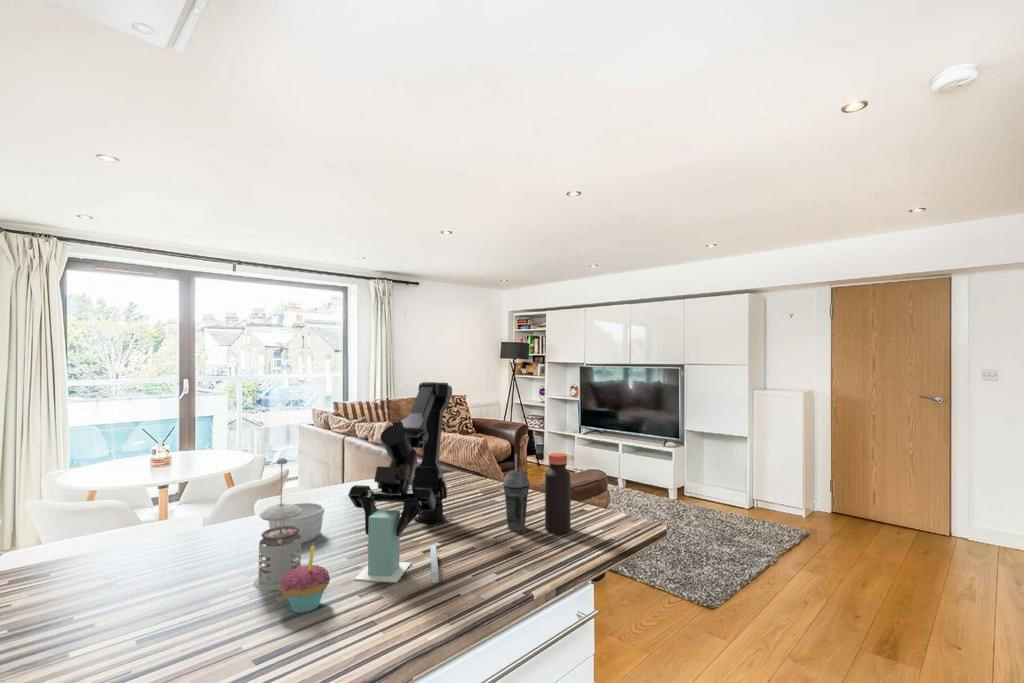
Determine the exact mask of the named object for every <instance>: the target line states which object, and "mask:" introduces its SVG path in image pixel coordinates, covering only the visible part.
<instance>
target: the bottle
mask: <svg viewBox="0 0 1024 683" xmlns="http://www.w3.org/2000/svg"><path fill="white" fill-rule="evenodd" d="M567 464H568V455H567V454H566V453H561V452H552V453H549V454H548V465H549V468H548V469H547V470H546V472H545V473H544V528H545V531H546V532H547V531H548V533H549V532H550V533H549V534H552V533H554V534H553V535H564V534H563V533H566V534H568V533H570V531H571V528H572V527H571V517H572V516H571V472H570V471H569V470H568V469H567ZM567 532H568V533H567Z"/></svg>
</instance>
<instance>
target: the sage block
mask: <svg viewBox="0 0 1024 683" xmlns="http://www.w3.org/2000/svg"><path fill="white" fill-rule="evenodd" d="M400 517H401V510H392V509H391V510H390V509H388V510H387V509H377V511H376V512H375V513H373V514H372V515H371V516H370V517H369V530H368V535H367V538H368V543H367V545H368V546H367V552H368V553H367V556H368V557H367V566H368V575H376V576H392V574H393V573H394V572H395V571H396V570H397V568H398V567H399V562H400V543H401V541H400V540H401V539H400V538H401V536H400V535H401V534H400V535H399V536H396V531H397V526H398V523H399V520H400Z"/></svg>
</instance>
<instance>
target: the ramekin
mask: <svg viewBox="0 0 1024 683" xmlns="http://www.w3.org/2000/svg"><path fill="white" fill-rule="evenodd" d="M290 504H291V503H290ZM291 505H296V506H298V507H300V508H301V509H302V512H301V514H300V515H298V516H296V517H294V518H290V519H286V520H285V521H284V527H285V526H294V527H297V528H299V529H300V530H299V532H298V534H299V535H300V536H301V544H306V543H308V542H311V541H313V540H315V539H316V538H317V537H318V536H319V535H320V533H321V531H322V528H323V519H324V518H323V517H324V514H325V506H324V505H322V504H320V503H315V502H301V503H292V504H291ZM268 525H269V529H271V528H275V521H268ZM281 526H282V527H283V520H281ZM276 527H280V521H276ZM298 540H299V539H296V540H294V542H296V541H298ZM278 546H282V539H281V540H278Z"/></svg>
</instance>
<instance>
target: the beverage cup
mask: <svg viewBox="0 0 1024 683" xmlns="http://www.w3.org/2000/svg"><path fill="white" fill-rule="evenodd" d="M530 486H531V485H530V480H529V477H528V476H527V474H526V473H525V472H524V471H522V470H521V469H518V454H517V453H515V454H514V469H512V470H510V471H508V472H507V473H506V475H505V476H504V479H503V484H502V487H503V492H504V500H505V512H506V521H507V522H506V523H507V529H508V530H509V529H510V530H509V531H511V530H516V531H515V532H519V531H518V530H522V531H524V530H525V525H526V520H527V518H526V516H527V508H528V506H527V505H528V494H529V492H530ZM523 529H524V530H523Z"/></svg>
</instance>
